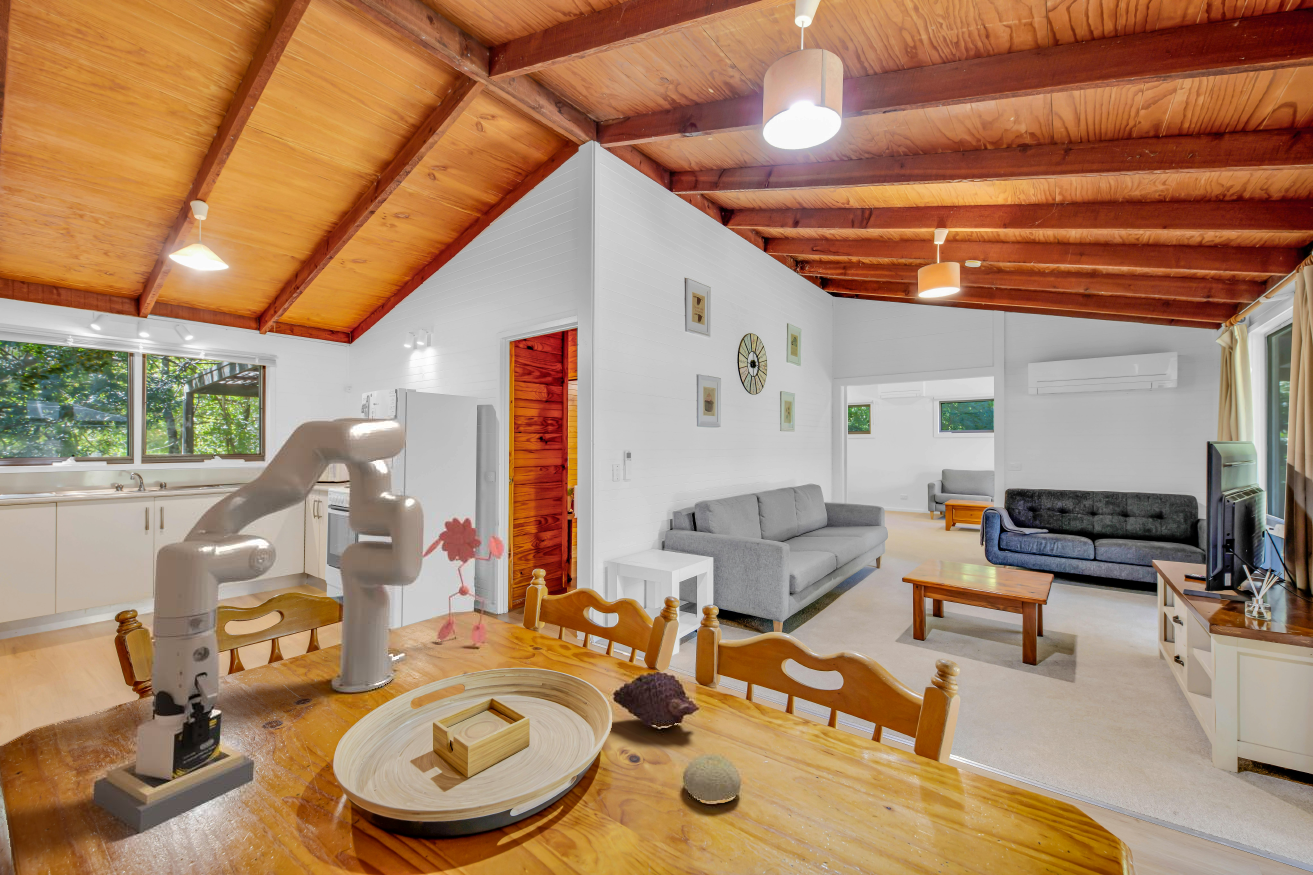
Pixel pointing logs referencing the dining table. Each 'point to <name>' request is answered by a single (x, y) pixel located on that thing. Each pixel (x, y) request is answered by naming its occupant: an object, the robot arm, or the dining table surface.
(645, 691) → the purple conch shell
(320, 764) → the dining table surface
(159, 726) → the medicine bottle
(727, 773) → the sea urchin shell
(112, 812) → the pedestal
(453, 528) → the flower headed figure
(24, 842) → the dining table surface
